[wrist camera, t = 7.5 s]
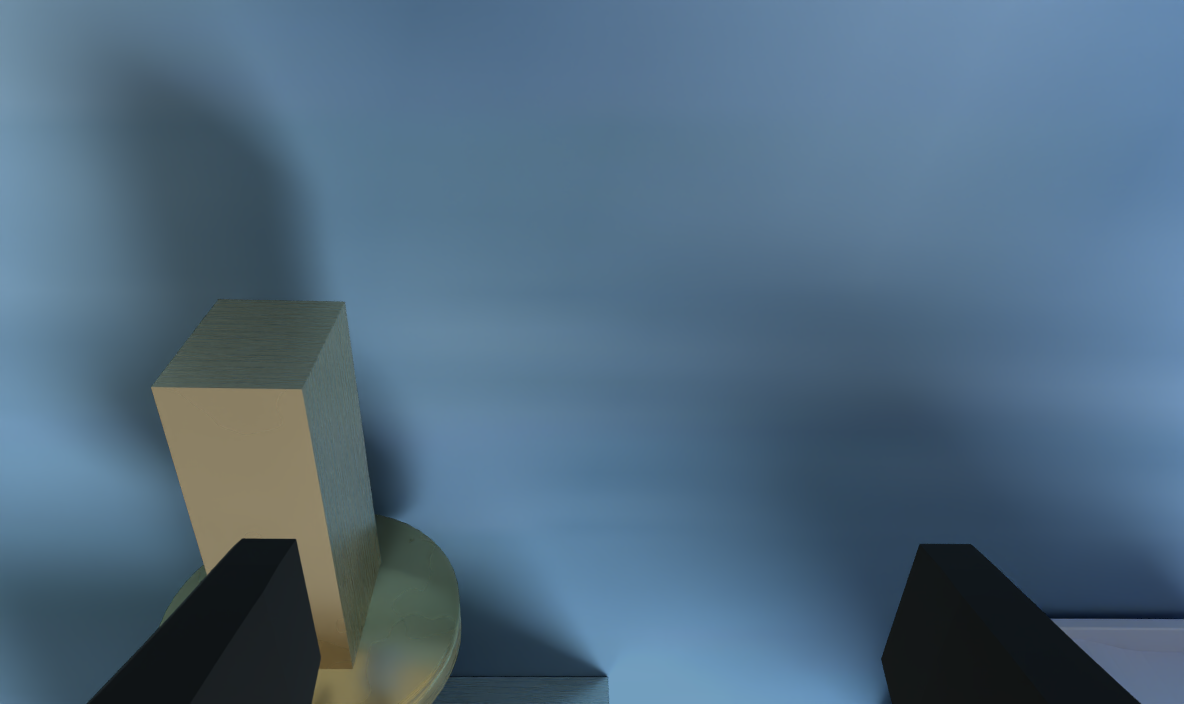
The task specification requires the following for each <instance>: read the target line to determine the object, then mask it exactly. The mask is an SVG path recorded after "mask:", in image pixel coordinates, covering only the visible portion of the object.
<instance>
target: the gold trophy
mask: <svg viewBox="0 0 1184 704" xmlns="http://www.w3.org/2000/svg"><path fill="white" fill-rule="evenodd" d="M151 389H152V392H153V395H154V399H155V402H156V405H157V409H158V412H159V416H160V419H161V422H162V426H163V429H164V432H165V436H166V439H167V442H168V446H169V449H170V452H171V456H172V459H173V463H174V466H175V469H176V473H177V476H178V479H179V483H180V486H181V489H182V493H183V496H184V499H185V503H186V506H187V509H188V513H189V516H190V520H191V523H192V526H193V530H194V533H195V536H196V540H197V543H198V546H199V550H200V553H201V556H202V560H203V563H204V565H203V566H202V567H200V568H199V569H198V570H197V571H196V572H195V573H194V574H193V575H192V576H191V577H190V578H189V579H188V581H187V582H186V583H185V584H184V585H183V587H182V588H181V589H180V590H179V592H178V593H177V594H176V595H175V597H174V599H173V600H172V602H171V604H170V605H169V607H168V609H167V610H166V612H165V615H164V617H163V619H162V621H161V624H160V626H161V625H162V624H163V623H164V622H165V621H166V620H167V618H168V617H169V616H170V615H171V614H172V613H173V612H174V611H175V610H176V609H177V608H178V607H179V605H180V604H181V603H182V602H183V601H184V600H185V599H186V598H187V597H188V596H189V594H190V593H191V592H192V591H193V590H194V589H195V588H196V587H197V586H198V584H199V583H200V582H201V581H202V580H203V579H204V578H205V577H206V576H207V575H208V573H209V572H210V571H211V570H212V569H213V568H214V567H215V566H216V565H217V563H218V562H219V561H220V560H221V559H222V558H223V557H224V556H225V555H226V554H227V553H228V551H229V550H230V549H231V548H232V547H233V546H234V545H235V544H236V543H237V542H239V541H240V540H241V539H242V538H257V539H296V541H297V545H298V550H299V555H300V559H301V564H302V569H303V574H304V578H305V583H306V588H307V593H308V597H309V602H310V607H311V612H312V616H313V621H314V626H315V631H316V635H317V640H318V645H319V650H320V654H321V661H320V666H319V671H318V675H317V680H316V685H315V690H314V695H313V700H312V704H432V703H433V701H434V700H435V699H436V697H437V696H438V695H439V693H440V692H441V690H442V689H443V687H444V685H445V684H446V682H447V680H448V678H449V676H450V674H451V672H452V670H453V667H454V664H455V662H456V659H457V656H458V651H459V647H460V642H461V615H460V601H459V591H458V583H457V579H456V576H455V573H454V570H453V568H452V566H451V564H450V562H449V560H448V558H447V557H446V555H445V554H444V553H443V551H442V550H441V549H440V547H438V546H437V545H436V544H435V543H434V542H433V541H432V540H431V539H430V538H429V537H427V536H426V535H425V534H423V533H422V532H421V531H419V530H417V529H415V528H414V527H412V526H410V525H408V524H406V523H403V522H400V521H398V520H395V519H392V518H389V517H385V516H381V515H376V514H374V508H373V500H372V493H371V486H370V479H369V472H368V465H367V457H366V450H365V443H364V436H363V429H362V422H361V414H360V407H359V400H358V393H357V386H356V379H355V371H354V364H353V357H352V350H351V343H350V336H349V328H348V321H347V314H346V307H345V302H334V301H282V300H229V299H218V301H217V302H216V303H215V304H214V306H213V307H212V308H211V310H210V311H209V312H208V314H207V315H206V316H205V317H204V319H203V320H202V321H201V323H200V324H199V325H198V327H197V328H196V329H195V331H194V332H193V333H192V334H191V336H190V337H189V338H188V340H187V341H186V342H185V344H184V345H183V346H182V347H181V349H180V350H179V351H178V353H177V354H176V355H175V357H174V358H173V359H172V360H171V362H170V363H169V364H168V366H167V367H166V368H165V370H164V371H163V372H162V374H161V375H160V376H159V377H158V379H157V380H156V381H155V383H154V384H153V385H152V387H151ZM160 626H159V627H160Z"/></svg>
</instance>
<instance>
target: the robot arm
mask: <svg viewBox="0 0 1184 704" xmlns="http://www.w3.org/2000/svg"><path fill="white" fill-rule="evenodd" d="M881 660H882V664H883V669H884V673H885V677H886V681H887V685H888V689H889V693H890V697H891V701H892V704H1184V619H1050V618H1049V617H1048V616H1047V615H1046V614H1045V613H1044V612H1042V611H1041V610H1040V609H1039V608H1038V607H1037V606H1036V605H1035V604H1034V603H1033V602H1032V601H1031V600H1030V599H1029V598H1028V597H1027V596H1026V595H1025V594H1024V593H1023V592H1022V591H1021V590H1019V589H1018V588H1017V587H1016V586H1015V585H1014V584H1013V583H1012V582H1011V581H1010V580H1009V579H1008V578H1007V577H1006V576H1005V575H1004V574H1003V573H1002V572H1001V571H1000V570H998V569H997V568H996V567H995V566H994V565H993V564H992V563H991V562H990V561H989V560H988V559H987V558H986V557H984V556H983V555H982V554H981V553H980V552H979V551H978V550H977V549H976V548H975V547H973V546H972V545H971V544H919V547H918V550H917V553H916V556H915V559H914V562H913V565H912V568H911V571H910V574H909V577H908V580H907V583H906V586H905V589H904V592H903V595H902V598H901V601H900V604H899V607H898V610H897V613H896V616H895V619H894V622H893V625H892V628H891V631H890V634H889V637H888V640H887V643H886V646H885V649H884V652H883V655H882V658H881ZM320 661H321V654H320V650H319V645H318V640H317V635H316V631H315V626H314V621H313V616H312V612H311V607H310V602H309V597H308V593H307V588H306V583H305V578H304V574H303V569H302V564H301V559H300V555H299V550H298V545H297V541H296V539H257V538H242V539H241V540H240V541H239V542H237V543H236V544H235V545H234V546H233V547H232V548H231V549H230V550H229V551H228V553H227V554H226V555H225V556H224V557H223V558H222V559H221V560H220V561H219V562H218V563H217V565H216V566H215V567H214V568H213V569H212V570H211V571H210V572H209V573H208V575H207V576H206V577H205V578H204V579H203V580H202V581H201V582H200V583H199V584H198V586H197V587H196V588H195V589H194V590H193V591H192V592H191V593H190V594H189V596H188V597H187V598H186V599H185V600H184V601H183V602H182V603H181V604H180V605H179V607H178V608H177V609H176V610H175V611H174V612H173V613H172V614H171V615H170V616H169V617H168V618H167V620H166V621H165V622H164V623H163V624H162V625H161V626H160V627H159V628H158V629H157V630H156V631H155V633H154V634H153V635H152V636H151V637H150V638H149V639H148V640H147V641H146V642H145V643H144V644H143V645H142V647H141V648H140V649H139V650H138V651H137V652H136V653H135V654H134V655H133V656H132V657H131V658H130V659H129V660H128V661H127V662H126V663H125V664H124V665H123V666H122V667H121V668H120V669H119V670H118V672H117V673H116V674H115V675H114V676H113V677H112V678H111V679H110V680H109V681H108V682H107V683H106V684H105V685H104V686H103V687H102V688H101V689H100V690H99V691H98V692H97V693H96V694H95V695H94V697H93V698H92V699H91V700H90V701H89V702H88V703H87V704H312V700H313V695H314V690H315V685H316V680H317V675H318V671H319V666H320Z"/></svg>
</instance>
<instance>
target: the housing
mask: <svg viewBox="0 0 1184 704" xmlns="http://www.w3.org/2000/svg"><path fill="white" fill-rule="evenodd" d="M432 704H609V688H608V677H449V678H448V680H447V682H446V684H445V685H444V687H443V689H442V690H441V692H440V693H439V695H438V696H437V697H436V699H435V700H434V701H433V703H432Z"/></svg>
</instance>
